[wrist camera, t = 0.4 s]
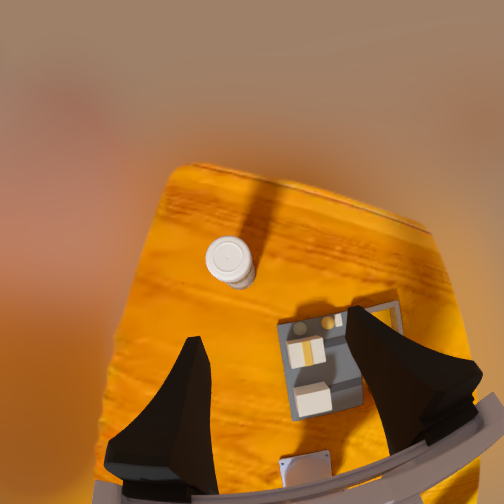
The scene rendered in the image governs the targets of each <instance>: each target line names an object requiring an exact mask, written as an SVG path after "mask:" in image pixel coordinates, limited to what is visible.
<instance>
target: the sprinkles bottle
mask: <svg viewBox="0 0 504 504" xmlns="http://www.w3.org/2000/svg"><path fill="white" fill-rule="evenodd" d="M206 265H207V267H208V269H209V271H210V272H211V274H212V275H213V276H214V277H216V278H217V279H219V280H221V281H224V282H225V283H227V284H228V285H229V286H231V287H232V288H234V289H237V290H243V289H246V288H248V287H250V286H251V285H252V283H253V282H254V280H255V275H256V273H255V268H254V265H253V262H252V255H251V252H250V249H249V247H248V246H247V244H246V243H245V242H244V241H243V240H241V239H240V238H238V237H235V236H223V237H220V238H218V239H216V240H215V241H213V242H212V243H211V245H210V246H209V248H208V250H207V253H206Z"/></svg>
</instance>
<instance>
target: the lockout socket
mask: <svg viewBox="0 0 504 504" xmlns="http://www.w3.org/2000/svg"><path fill="white" fill-rule="evenodd" d="M388 308H389V309H390V315H391V321H392V328H393V330H395V331H396V332H398V333H400V334H401V335H403V327H402V320H401V313H400V307H399V301H398V300H394V301H390V302H386V303H382V304H378V305H374V306H370V307H366V308H364V309H365V310H366V311H368V312H369V313H373V312H376V311H380V310H384V309H388ZM403 336H404V335H403Z"/></svg>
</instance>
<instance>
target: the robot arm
mask: <svg viewBox="0 0 504 504" xmlns="http://www.w3.org/2000/svg"><path fill="white" fill-rule="evenodd" d="M345 339H346V342H347V345H348V347H349V350H350V352H351V355H352V357H353V358H354V360H355V362H356V364H357V366H358V368H359V370H360V372H361V373H362V375H363V377H364V379H365V381H366V383H367V385H368V386H369V389H370V391H371V393H372V395H373V398H374V401H375V404H376V406H377V409H378V412H379V415H380V418H381V421H382V425H383V428H384V432H385V435H386V440H387V444H388V448H389V453H390V456H389V457H387V458H384V459H382V460H379V461H377V462H374V463H371V464H369V465H366V466H363V467H360V468H358V469H355V470H352V471H349V472H345V473H342V474H339V475H335V476H332V472H331V461H330V452H329V450H323V451H319V452H314V453H310V454H305V455H299V456H294V457H288V458H282V459H280V460H279V465H280V470H281V476H282V481H283V486H284V488H278V489H272V490H265V491H257V492H249V493H238V494H222V495H219V491H218V486H217V480H216V475H215V468H214V461H213V453H212V444H211V433H210V406H211V383H212V381H211V368H210V362H209V359H208V356H207V354H206V351H205V348H204V346H203V343H202V340H201V337H200V336H195V337H188V338H187V339H186V341H185V343H184V345H183V348H182V350H181V352H180V354H179V356H178V358H177V360H176V362H175V364H174V366H173V368H172V369H171V371H170V373H169V375H168V376H167V378H166V380H165V381H164V383H163V385H162V386H161V388H160V389H159V391H158V392H157V394H156V395H155V396H154V398H153V399H152V400H151V402H150V403H149V404H148V405H147V406H146V408H145V409H144V410H143V411H142V412H141V413H140V414H139V415H138V416H137V417H136V418H135V419H134V420H133V421H132V422H131V423H130V424H129V425H128V426H127V427H126V428H125V429H124V430H122V431H121V432H120V433H119V434H117V435H116V436H115V437H113V438H112V439H111V440H109V442H108V445H107V449H106V454H105V460H104V467H105V468H106V470H108V471H109V472H110V473H112V474H113V475H115V476H116V477H118V478H120V479H121V480H123V486H121V485H118V484H115V483H109V482H104V481H100V480H96V481H95V485H94V492H93V500H92V504H283V503H285V504H423V501H422V499H421V496H420V493H422V492H424V491H426V490H428V489H429V488H431V487H433V486H435V485H436V484H438V483H440V482H441V481H443V480H445V479H446V478H448V477H449V476H451V475H452V474H454V473H455V472H457V471H458V470H460V469H461V468H463V467H464V466H466V465H467V464H468V463H470V462H471V461H472V460H474V459H475V458H476V457H478V456H479V455H480V454H482V453H483V452H484V451H486V450H487V449H488V448H489V447H490V446H492V445H493V444H494V443H495V442H496V441H497V440H498V439H499V438H500V437H502V436H503V435H504V407H503V405H502V404H501V402H500V401H499V399H498V398H497V396H496V395H495V394H494V392H492V393H490V394H489V395H488V396H486V397H485V398H484V399H482V400H481V401H480V402H478V403H477V404H476V405H474V404H473V401H474V397H473V396H472V393H473V392H474V390H475V389H476V387H477V386H478V384H479V383H480V381H481V379H482V376H483V373H482V371H481V370H480V368H479V367H478V366H477V364H476V363H475V362H474V361H472V360H467V359H461V358H456V357H453V356H449V355H445V354H442V353H439V352H437V351H434V350H431V349H429V348H426V347H424V346H422V345H420V344H418V343H416V342H414V341H412V340H410V339H408V338H406V337H405V336H403V335H401V334H400V333H398V332H396V331H395V330H393V329H392V328H390V327H389V326H387V325H386V324H384V323H383V322H382V321H380V320H379V319H377V318H376V317H375V316H373V315H372V314H370V313H369V312H368V311H366V310H365V309H364V308H362V307H361V306H359V305H357V306H353V307H349V308H348V311H347V322H346V332H345ZM326 454H328V455H327V456H325V455H326ZM281 463H284V464H281ZM381 475H383V476H382V477H381V478H382V479H378V480H375V481H372V482H369V483H366V484H363V485H361V486H358V487H355V488H352V489H347V488H348V487H351V486H354V485H357V484H360V483H363V482H366V481H369V480H371V479H374V478H376V477H379V476H381ZM341 490H342V491H341Z"/></svg>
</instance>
